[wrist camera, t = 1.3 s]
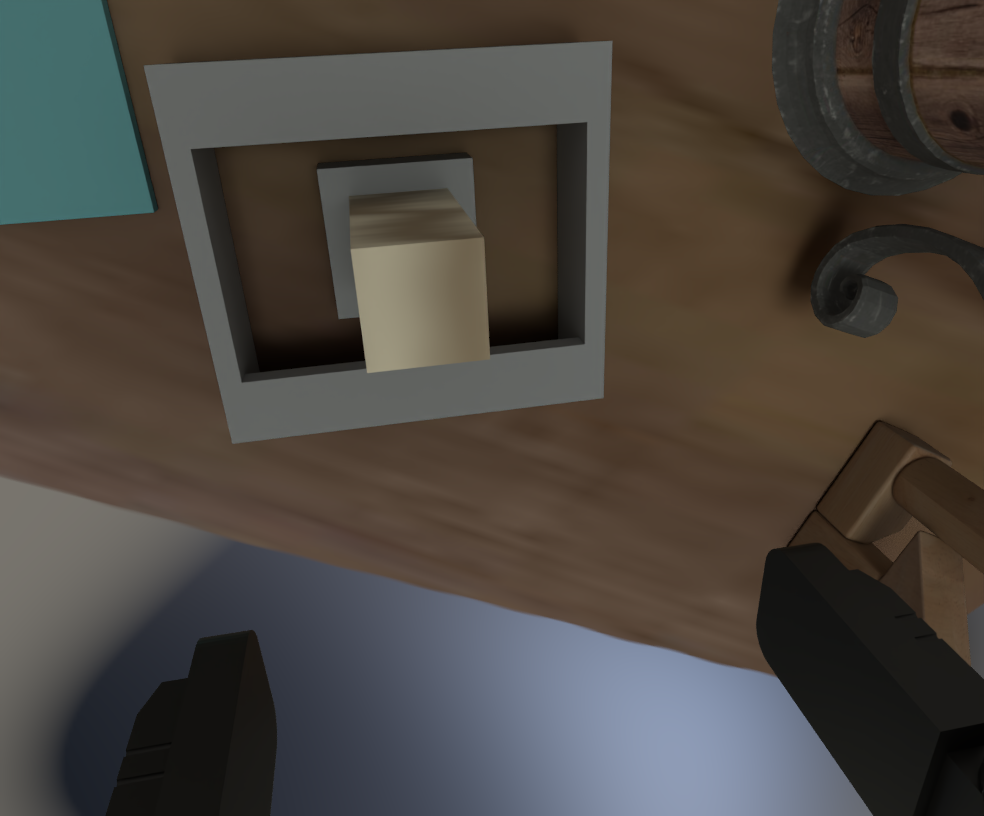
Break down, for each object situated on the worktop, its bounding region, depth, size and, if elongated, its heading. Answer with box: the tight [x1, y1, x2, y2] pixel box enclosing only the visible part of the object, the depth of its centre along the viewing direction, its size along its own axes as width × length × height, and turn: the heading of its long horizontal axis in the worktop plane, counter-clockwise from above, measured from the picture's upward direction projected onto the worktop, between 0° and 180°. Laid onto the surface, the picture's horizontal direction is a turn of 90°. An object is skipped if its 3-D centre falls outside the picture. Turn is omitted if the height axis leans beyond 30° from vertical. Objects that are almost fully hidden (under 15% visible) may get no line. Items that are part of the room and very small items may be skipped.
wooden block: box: [788, 422, 984, 666], centre depth 41 cm, size 4×11×18 cm, turn 155°
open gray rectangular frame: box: [144, 41, 612, 444], centre depth 34 cm, size 18×16×5 cm
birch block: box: [349, 188, 490, 373], centre depth 30 cm, size 4×4×10 cm
